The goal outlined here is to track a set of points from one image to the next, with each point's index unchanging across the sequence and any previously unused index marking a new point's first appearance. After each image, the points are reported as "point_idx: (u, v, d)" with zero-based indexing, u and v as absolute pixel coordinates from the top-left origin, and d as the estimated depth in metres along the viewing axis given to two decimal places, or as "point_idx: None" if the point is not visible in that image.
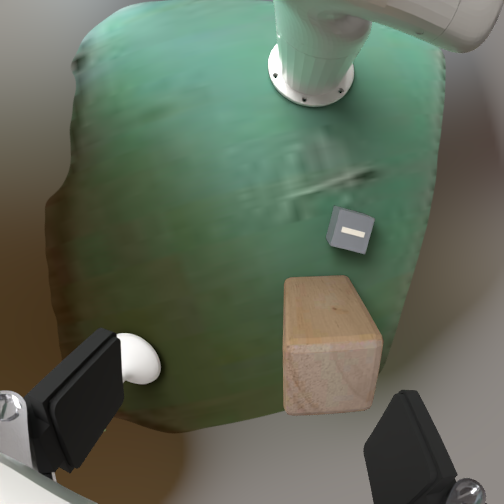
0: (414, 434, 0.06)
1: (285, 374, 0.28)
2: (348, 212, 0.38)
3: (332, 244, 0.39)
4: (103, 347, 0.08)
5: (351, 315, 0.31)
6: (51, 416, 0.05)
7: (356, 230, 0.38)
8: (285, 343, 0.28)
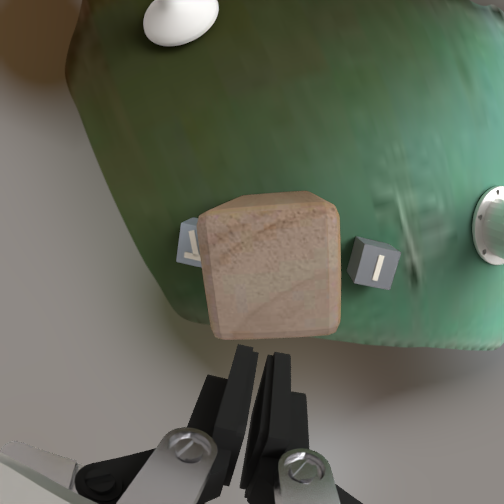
0: None
1: (283, 208, 0.20)
2: (397, 261, 0.34)
3: (366, 246, 0.34)
4: (252, 363, 0.09)
5: None
6: (235, 441, 0.06)
7: (379, 271, 0.35)
8: (332, 205, 0.20)
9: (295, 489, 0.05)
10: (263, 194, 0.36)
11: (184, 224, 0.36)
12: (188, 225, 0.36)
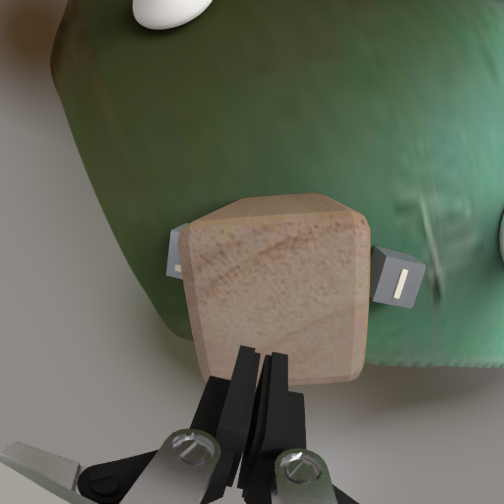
0: None
1: (295, 220, 0.14)
2: (422, 276, 0.29)
3: (387, 258, 0.29)
4: (255, 364, 0.09)
5: None
6: (238, 442, 0.06)
7: (402, 287, 0.29)
8: (361, 215, 0.14)
9: (292, 489, 0.05)
10: None
11: (174, 232, 0.31)
12: None
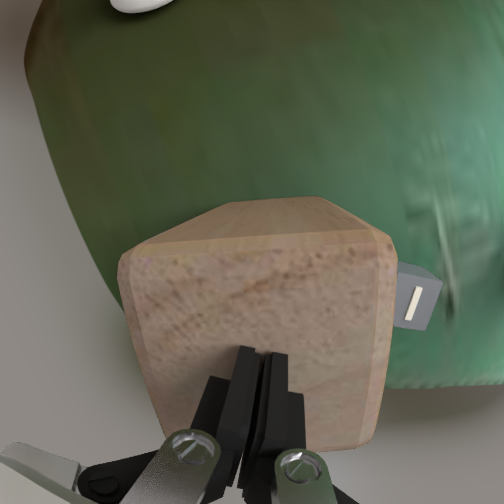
0: None
1: (286, 245, 0.09)
2: (437, 294, 0.24)
3: (399, 274, 0.24)
4: (255, 364, 0.09)
5: None
6: (238, 442, 0.06)
7: (415, 308, 0.24)
8: (385, 236, 0.09)
9: (292, 489, 0.05)
10: (256, 201, 0.25)
11: None
12: None
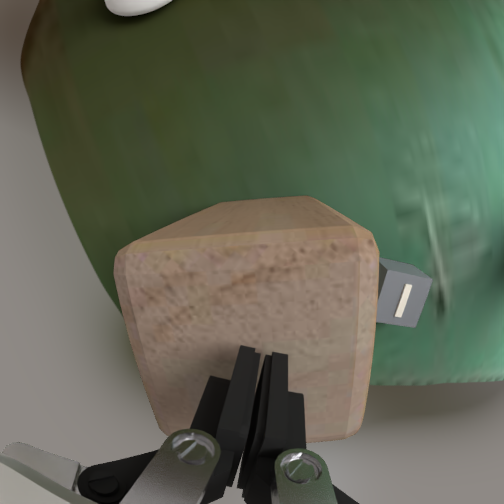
0: None
1: (271, 241, 0.10)
2: (427, 291, 0.25)
3: (389, 272, 0.25)
4: (255, 364, 0.09)
5: None
6: (238, 442, 0.06)
7: (404, 305, 0.25)
8: (367, 232, 0.10)
9: (292, 489, 0.05)
10: (248, 201, 0.26)
11: None
12: None
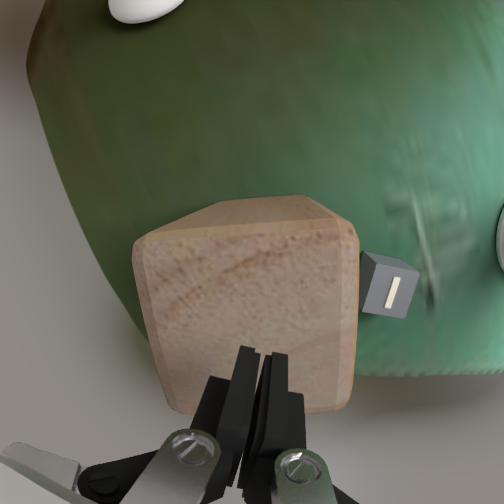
0: None
1: (267, 230, 0.12)
2: (415, 283, 0.27)
3: (378, 265, 0.27)
4: (255, 364, 0.09)
5: None
6: (238, 442, 0.06)
7: (394, 296, 0.27)
8: (348, 223, 0.12)
9: (292, 489, 0.05)
10: None
11: None
12: None
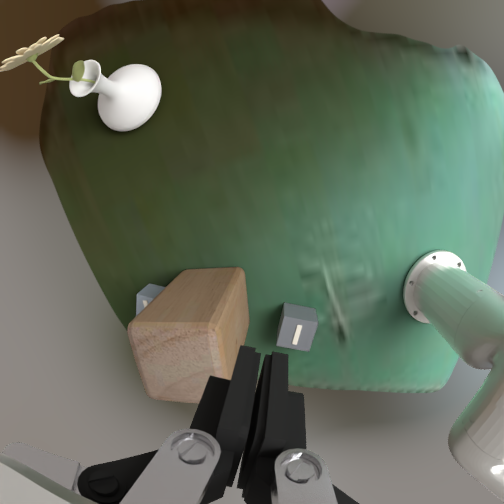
0: None
1: (179, 327, 0.27)
2: (315, 329, 0.42)
3: (285, 317, 0.42)
4: (255, 364, 0.09)
5: (235, 362, 0.33)
6: (238, 442, 0.06)
7: (298, 337, 0.42)
8: (214, 325, 0.28)
9: (292, 489, 0.05)
10: (199, 273, 0.43)
11: (139, 295, 0.44)
12: (142, 296, 0.44)
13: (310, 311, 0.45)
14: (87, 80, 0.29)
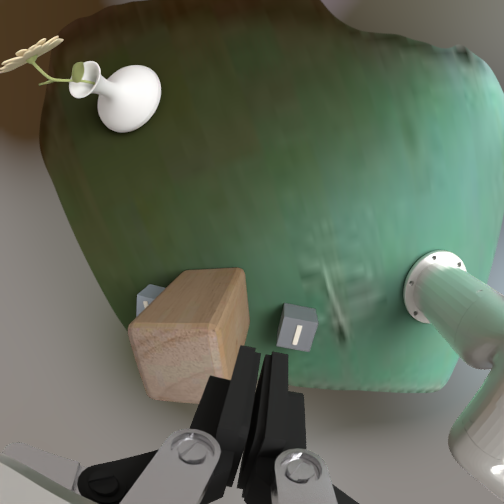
0: None
1: (179, 328, 0.27)
2: (315, 330, 0.42)
3: (285, 318, 0.42)
4: (255, 364, 0.09)
5: (235, 362, 0.33)
6: (238, 442, 0.06)
7: (298, 337, 0.42)
8: (215, 325, 0.28)
9: (292, 489, 0.05)
10: (199, 273, 0.44)
11: (139, 296, 0.44)
12: (142, 297, 0.44)
13: (310, 311, 0.45)
14: (87, 81, 0.29)
